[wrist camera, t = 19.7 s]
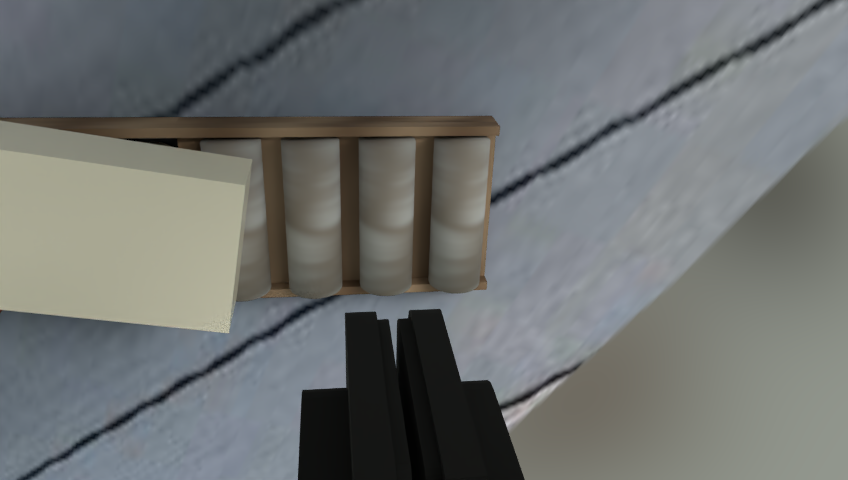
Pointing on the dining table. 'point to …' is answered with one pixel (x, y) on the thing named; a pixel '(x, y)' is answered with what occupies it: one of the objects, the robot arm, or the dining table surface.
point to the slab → (119, 229)
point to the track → (345, 197)
